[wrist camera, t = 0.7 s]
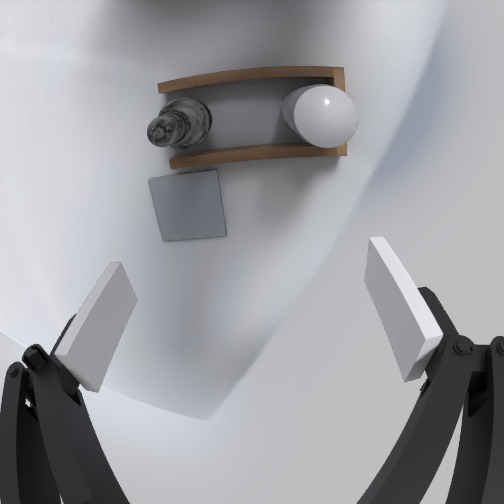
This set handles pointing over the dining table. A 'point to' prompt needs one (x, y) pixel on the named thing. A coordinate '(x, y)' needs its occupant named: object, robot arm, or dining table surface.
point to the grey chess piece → (180, 124)
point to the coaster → (188, 205)
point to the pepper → (320, 115)
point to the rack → (255, 151)
